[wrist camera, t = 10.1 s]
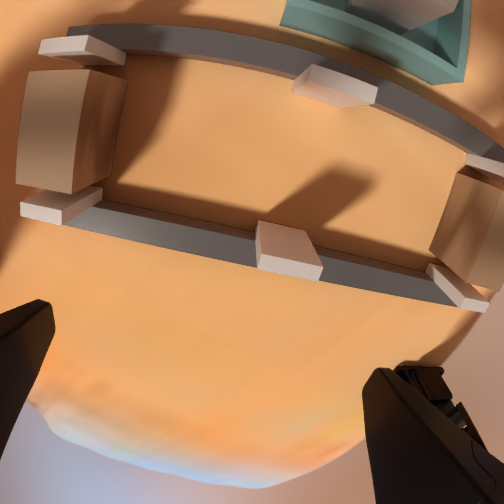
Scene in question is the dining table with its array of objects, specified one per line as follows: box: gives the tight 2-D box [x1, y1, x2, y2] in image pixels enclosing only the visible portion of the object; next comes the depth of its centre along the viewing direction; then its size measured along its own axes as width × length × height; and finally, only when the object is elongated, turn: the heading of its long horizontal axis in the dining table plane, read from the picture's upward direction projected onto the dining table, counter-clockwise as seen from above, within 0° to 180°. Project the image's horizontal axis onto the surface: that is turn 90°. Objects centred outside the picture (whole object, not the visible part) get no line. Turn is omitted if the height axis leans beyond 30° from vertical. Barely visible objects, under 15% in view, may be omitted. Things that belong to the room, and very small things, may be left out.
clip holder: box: [20, 24, 504, 313], centre depth 15 cm, size 13×31×5 cm, turn 76°
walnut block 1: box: [16, 69, 128, 194], centre depth 13 cm, size 6×4×5 cm, turn 166°
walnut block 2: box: [429, 173, 504, 292], centre depth 16 cm, size 6×4×5 cm, turn 166°
